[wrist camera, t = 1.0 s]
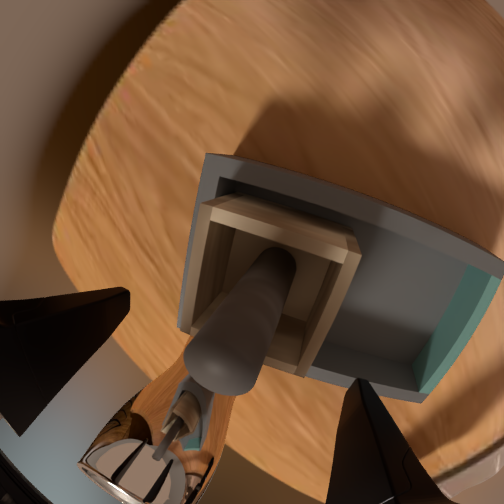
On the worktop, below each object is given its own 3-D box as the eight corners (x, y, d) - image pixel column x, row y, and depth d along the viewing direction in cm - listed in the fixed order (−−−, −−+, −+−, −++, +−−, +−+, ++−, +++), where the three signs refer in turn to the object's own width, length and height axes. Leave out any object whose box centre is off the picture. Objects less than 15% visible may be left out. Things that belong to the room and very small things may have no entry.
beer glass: (185, 309, 21) (55, 441, 8) (268, 334, 20) (181, 519, 6) (184, 368, 24) (94, 485, 10) (253, 391, 22) (188, 534, 9)
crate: (352, 228, 15) (380, 316, 6) (312, 326, 17) (287, 451, 8) (237, 191, 16) (128, 227, 7) (215, 291, 18) (130, 385, 10)
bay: (479, 244, 14) (508, 264, 10) (412, 368, 18) (421, 403, 14) (232, 155, 17) (206, 152, 13) (202, 300, 21) (176, 327, 17)
